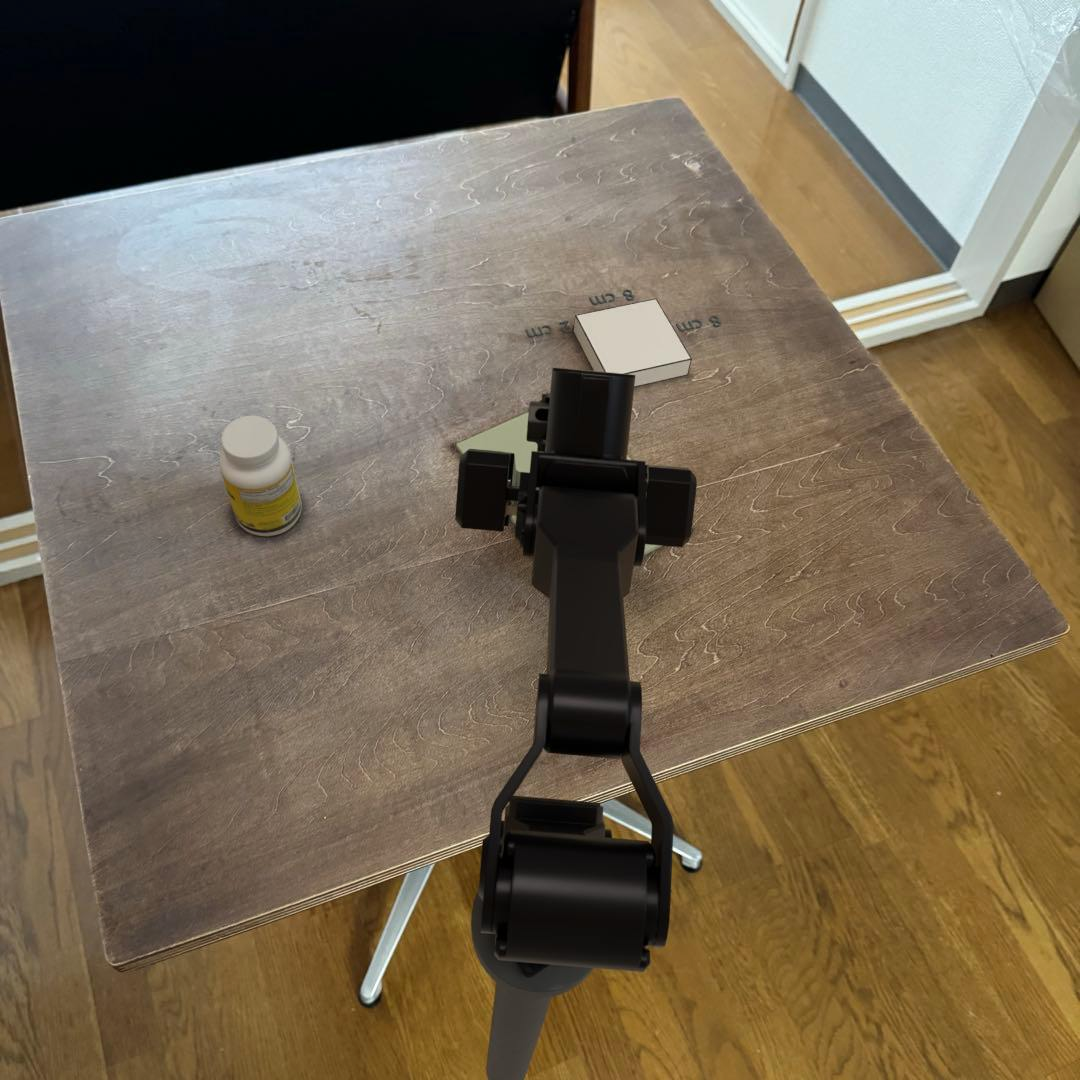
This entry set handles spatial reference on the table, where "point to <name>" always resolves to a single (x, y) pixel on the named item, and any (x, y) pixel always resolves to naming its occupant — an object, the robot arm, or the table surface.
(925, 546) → the table surface
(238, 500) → the pill bottle
